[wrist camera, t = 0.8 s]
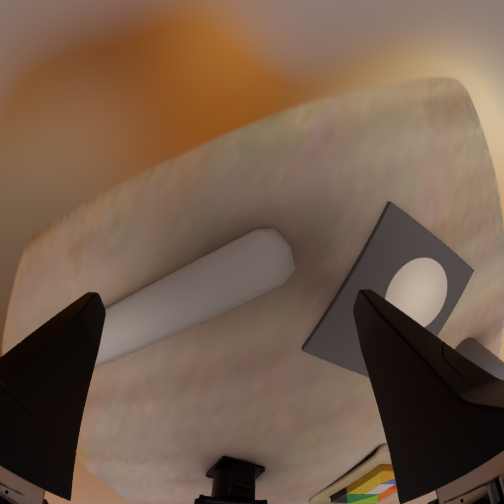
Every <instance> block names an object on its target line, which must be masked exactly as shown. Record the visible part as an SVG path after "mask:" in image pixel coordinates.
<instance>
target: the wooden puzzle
mask: <svg viewBox="0 0 504 504" xmlns="http://www.w3.org/2000/svg"><path fill="white" fill-rule="evenodd" d="M396 491H397V486H396V481H395V476H394V472H393V467H392V462H391V458H390V453H389V448H388V444H387V443H384V444H382V445H381V446H380V447H379V448H378V450H377V452H376V453H375V454H374V455H373V456H372V457H371V458H369V459H368V460H367V461H365V462H364V463H362V464H361V465H360V466H358V467H357V468H355V469H354V470H353V471H351V472H350V473H348V474H347V475H345V476H344V477H342V478H341V479H339V480H337V481H336V482H334V483H333V484H331V485H329V486H328V487H326V488H325V489H323V490H322V491H320V492H319V493H317V494H316V495H314V496H313V497H311V498H310V504H376V503H378V502H379V501H381V500H382V499H384V498H386V497H388V496H389V495H391V494H393V493H394V492H396Z"/></svg>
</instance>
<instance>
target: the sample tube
mask: <svg viewBox="0 0 504 504" xmlns="http://www.w3.org/2000/svg"><path fill="white" fill-rule="evenodd" d="M455 350H456V351H457V352H458V353H460V354H461V355H463V356H464V357H466V358H467V359H469V360H470V361H472V362H473V363H475V364H476V365H478V366H479V367H481V368H482V369H484V370H486V371H487V372H489V373H490V374H492V375H493V376H495V377H497V378H499V379H501V380H504V362H503V361H501V360H500V359H499V358H498V357H496V356H495V355H494V354H493V353H491V352H490V351H489V350H488V349H486V348H485V347H484V346H483V345H481V344H480V343H479V342H477V341H476V340H475V339H474V338H467V339H465V340H464V341H462V342H461V343H460V344H459V345H458V346H457V348H456V349H455Z"/></svg>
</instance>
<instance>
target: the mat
mask: <svg viewBox="0 0 504 504" xmlns="http://www.w3.org/2000/svg"><path fill="white" fill-rule="evenodd" d="M473 271H474V270H473V269H472V268H471V267H470V266H469V265H468V264H467V263H466V262H465V261H463V260H462V259H461V258H460V257H459V256H458V255H457V254H456V253H455V252H453V251H452V250H451V249H450V248H449V247H448V246H446V245H445V244H444V243H443V242H442V241H441V240H439V239H438V238H437V237H436V236H435V235H433V234H432V233H431V232H430V231H428V230H427V229H426V228H425V227H423V226H422V225H421V224H420V223H418V222H417V221H416V220H414V219H413V218H412V217H411V216H409V215H408V214H407V213H405V212H404V211H403V210H401V209H400V208H399V207H397V206H396V205H394V204H393V203H392V202H388V203H387V205H386V207H385V209H384V211H383V213H382V215H381V217H380V219H379V221H378V223H377V225H376V227H375V229H374V230H373V232H372V234H371V236H370V238H369V240H368V242H367V243H366V245H365V247H364V249H363V251H362V252H361V254H360V256H359V258H358V260H357V261H356V263H355V265H354V267H353V268H352V270H351V272H350V273H349V275H348V277H347V278H346V280H345V282H344V283H343V285H342V287H341V288H340V290H339V292H338V293H337V295H336V297H335V298H334V300H333V301H332V303H331V305H330V306H329V308H328V309H327V311H326V312H325V314H324V315H323V317H322V319H321V320H320V322H319V323H318V325H317V326H316V328H315V329H314V331H313V332H312V334H311V335H310V337H309V338H308V339H307V341H306V342H305V344H304V345H303V347H302V350H303V351H304V352H307V353H309V354H311V355H314V356H316V357H319V358H321V359H324V360H326V361H328V362H331V363H333V364H336V365H338V366H341V367H344V368H346V369H349V370H351V371H354V372H357V373H359V374H362V375H365V376H367V377H369V375H368V371H367V368H366V365H365V362H364V358H363V355H362V352H361V348H360V343H359V338H358V333H357V329H356V324H355V319H354V315H353V307H354V304H355V300H356V297H357V293H358V291H359V290H360V289H371V290H373V291H374V292H376V293H377V294H378V295H380V296H381V297H383V298H384V299H386V300H387V301H388V302H390V303H391V304H393V305H394V306H395V307H397V308H398V309H400V310H401V311H402V312H404V313H405V314H407V315H408V316H409V317H411V318H412V319H414V320H415V321H416V322H418V323H419V324H420V325H422V326H423V327H424V328H426V329H427V330H429V331H430V332H431V333H433V334H434V335H435V336H437V335H438V334H439V332H440V331H441V329H442V327H443V326H444V324H445V323H446V321H447V319H448V318H449V316H450V314H451V313H452V311H453V309H454V307H455V306H456V304H457V302H458V300H459V299H460V297H461V295H462V293H463V291H464V289H465V287H466V285H467V283H468V281H469V279H470V277H471V275H472V273H473Z"/></svg>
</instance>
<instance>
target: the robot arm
mask: <svg viewBox="0 0 504 504" xmlns="http://www.w3.org/2000/svg"><path fill="white" fill-rule="evenodd" d="M353 315H354V319H355V324H356V329H357V333H358V338H359V343H360V348H361V352H362V355H363V358H364V362H365V365H366V368H367V371H368V375H369V378H370V381H371V385H372V388H373V391H374V395H375V398H376V402H377V406H378V409H379V413H380V417H381V420H382V424H383V428H384V432H385V436H386V440H387V444H388V448H389V453H390V458H391V462H392V467H393V472H394V476H395V481H396V486H397V492H398V497H399V502H400V504H403V503H405V502H408V501H411V500H413V499H416V498H418V497H421V496H422V495H425V494H428V493H430V492H432V491H434V490H436V494H437V499H435V500H433V501H431V502H429V503H428V504H504V380H501V379H499V378H497V377H495V376H493V375H492V374H490V373H489V372H487V371H486V370H484V369H482V368H481V367H479V366H478V365H476V364H475V363H473V362H472V361H470V360H469V359H467V358H466V357H464V356H463V355H461V354H460V353H458V352H457V351H456V350H454V349H453V348H451V347H450V346H449V345H447V344H446V343H445V342H443V341H441V339H439V338H438V337H437V336H435V335H434V334H433V333H431V332H430V331H429V330H427V329H426V328H424V327H423V326H422V325H420V324H419V323H418V322H416V321H415V320H414V319H412V318H411V317H409V316H408V315H407V314H405V313H404V312H402V311H401V310H400V309H398V308H397V307H395V306H394V305H393V304H391V303H390V302H388V301H387V300H386V299H384V298H383V297H381V296H380V295H378V294H377V293H376V292H374V291H373V290H371V289H360V290H359V291H358V293H357V297H356V300H355V304H354V307H353ZM105 318H106V311H105V308H104V305H103V303H102V300H101V297H100V295H99V294H98V293H96V292H88V293H86V294H85V295H83V296H82V297H80V298H79V299H77V300H76V301H75V302H73V303H72V304H70V305H69V306H68V307H66V308H65V309H63V310H62V311H61V312H59V313H58V314H57V315H55V316H54V317H53V318H51V319H50V320H49V321H47V322H46V323H44V324H43V325H42V326H41V327H39V328H38V329H37V330H35V331H34V332H33V333H31V334H30V335H29V336H27V337H26V338H25V339H24V340H22V341H21V343H18V344H17V345H16V346H15V347H13V348H12V349H11V350H10V351H8V352H7V353H6V354H4V355H3V356H2V357H0V504H48V502H47V500H46V499H44V495H45V490H46V491H48V492H50V493H52V494H55V495H57V496H59V497H62V498H64V499H66V500H69V501H70V499H71V491H72V480H73V472H74V464H75V457H76V452H75V451H76V449H77V443H78V437H79V432H80V426H81V421H82V416H83V411H84V407H85V402H86V398H87V394H88V390H89V386H90V382H91V378H92V374H93V370H94V367H95V363H96V359H97V356H98V352H99V347H100V342H101V337H102V332H103V327H104V322H105ZM264 471H265V468H264V467H261V466H257V465H253V464H249V463H246V462H242V461H239V460H235V459H232V458H229V457H222V458H221V459H220V460H219V461H218V462H217V463H216V464H215V465H214V466H213V467H212V468H211V469H210V470H209V471H208V472H207V473H206V477H209V478H212V479H213V486H212V493H211V497H210V496H204V495H200V496H199V498H197V499H195V502H194V504H267V500H255V479H256V478H257V477H258V476H260V475H261V474H262V473H263V472H264Z"/></svg>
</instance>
